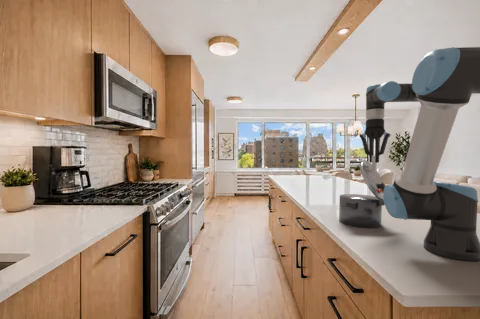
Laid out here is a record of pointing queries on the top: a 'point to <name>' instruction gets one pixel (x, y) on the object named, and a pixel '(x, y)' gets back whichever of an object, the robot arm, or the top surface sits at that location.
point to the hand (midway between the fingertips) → (374, 169)
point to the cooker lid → (372, 179)
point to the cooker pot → (360, 210)
